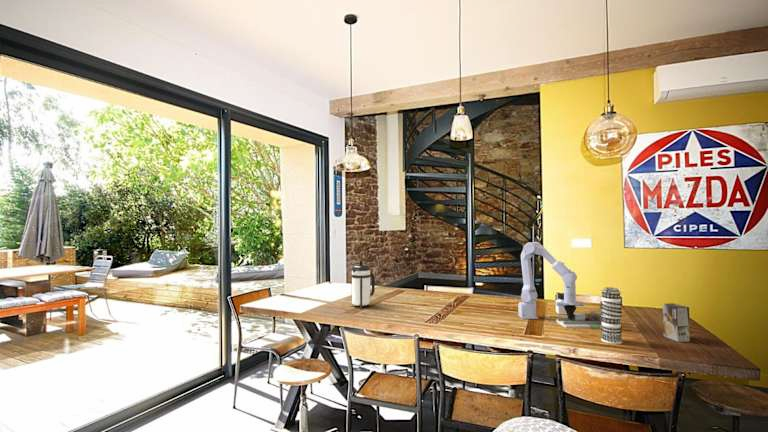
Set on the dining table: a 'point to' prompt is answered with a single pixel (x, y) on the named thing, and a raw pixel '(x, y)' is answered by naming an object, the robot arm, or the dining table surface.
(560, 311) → the medicine bottle
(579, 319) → the plunger
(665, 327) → the coffee box
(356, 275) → the coffee press
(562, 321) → the scale board
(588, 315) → the marker
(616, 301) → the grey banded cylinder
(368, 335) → the dining table surface
